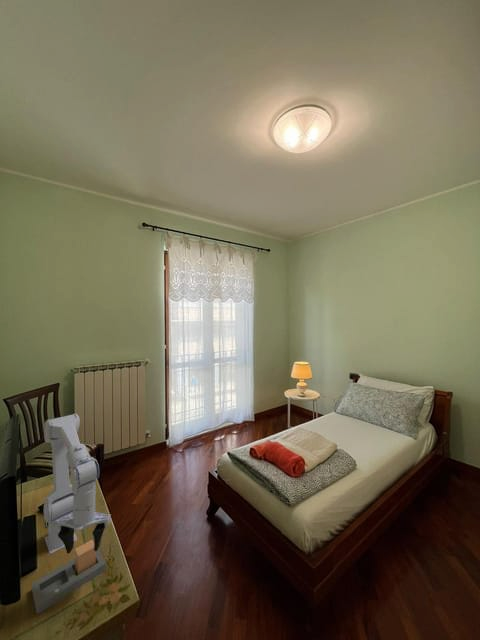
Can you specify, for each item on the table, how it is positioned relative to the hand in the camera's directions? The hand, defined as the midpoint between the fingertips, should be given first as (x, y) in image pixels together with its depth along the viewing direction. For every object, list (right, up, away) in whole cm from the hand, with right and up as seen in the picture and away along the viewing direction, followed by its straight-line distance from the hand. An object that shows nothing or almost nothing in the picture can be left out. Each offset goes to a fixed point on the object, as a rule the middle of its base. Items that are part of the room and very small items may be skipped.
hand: (83, 549), depth 76 cm
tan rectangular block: (-2, -10, +3) cm, 10 cm away
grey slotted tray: (-4, -10, 0) cm, 11 cm away
